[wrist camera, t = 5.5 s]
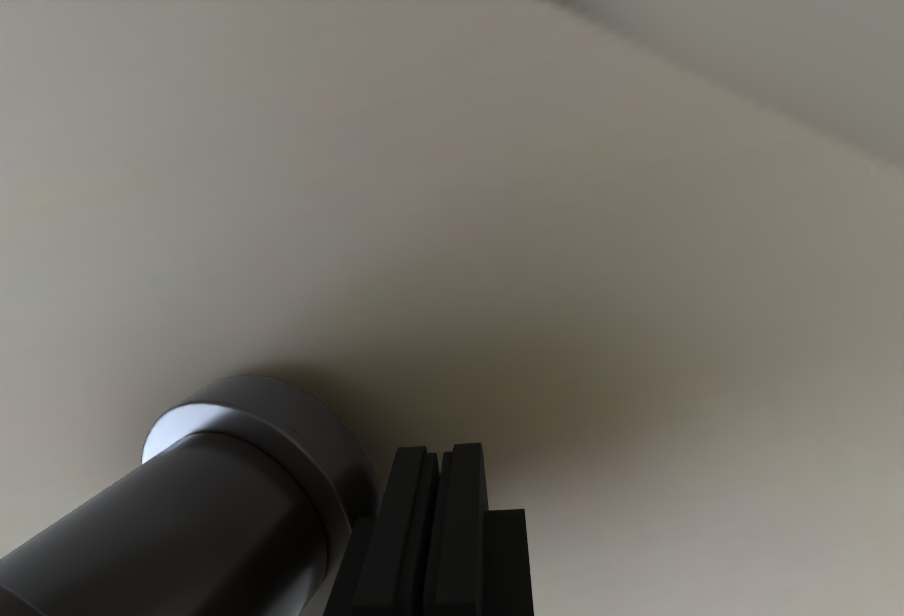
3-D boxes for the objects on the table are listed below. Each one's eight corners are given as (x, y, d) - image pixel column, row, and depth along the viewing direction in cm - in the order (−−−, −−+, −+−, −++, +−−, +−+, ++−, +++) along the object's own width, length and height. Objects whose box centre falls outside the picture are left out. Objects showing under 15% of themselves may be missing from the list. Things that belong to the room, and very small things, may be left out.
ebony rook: (162, 361, 12) (-303, 594, 6) (373, 389, 10) (-12, 747, 5) (209, 555, 14) (-129, 879, 8) (399, 608, 12) (138, 1075, 6)
